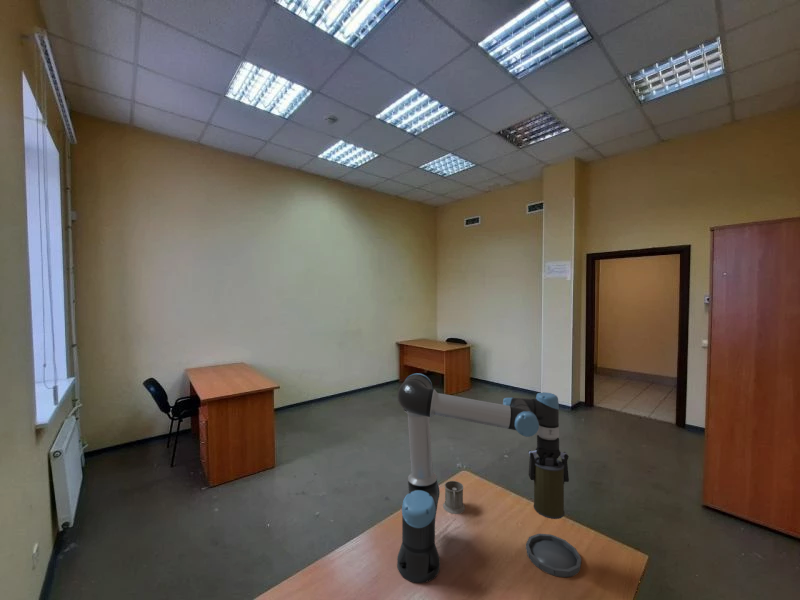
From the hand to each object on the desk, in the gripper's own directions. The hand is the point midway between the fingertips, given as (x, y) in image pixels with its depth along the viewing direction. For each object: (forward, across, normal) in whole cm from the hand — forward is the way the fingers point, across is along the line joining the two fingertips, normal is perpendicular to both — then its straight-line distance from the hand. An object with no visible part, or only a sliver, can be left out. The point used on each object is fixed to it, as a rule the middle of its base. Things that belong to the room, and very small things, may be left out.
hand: (548, 498), depth 121 cm
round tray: (+22, +1, +1) cm, 22 cm away
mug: (+21, -34, +23) cm, 46 cm away
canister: (+4, 0, 0) cm, 4 cm away
